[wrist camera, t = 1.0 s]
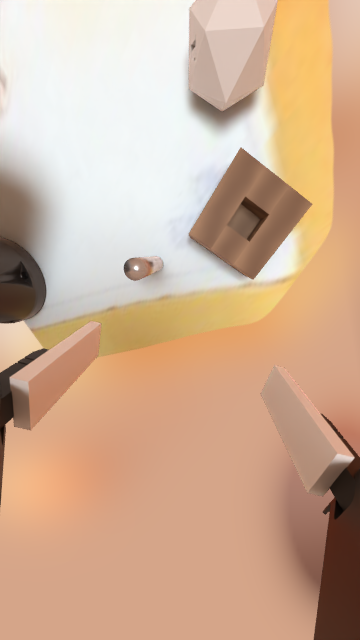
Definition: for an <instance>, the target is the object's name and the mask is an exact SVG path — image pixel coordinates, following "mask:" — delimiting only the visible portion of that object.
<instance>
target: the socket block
mask: <svg viewBox="0 0 360 640" xmlns="http://www.w3.org/2000/svg"><path fill="white" fill-rule="evenodd" d="M311 205H312V203H310V202H309V201H308V200H307V199H305V198H304V197H303V196H302V195H300V194H299V193H298V192H297V191H295V190H294V189H293V188H291V187H290V186H289V185H288V184H286V183H285V182H284V181H283V180H281V179H280V178H279V177H278V176H276V175H275V174H274V173H273V172H271V171H270V170H269V169H268V168H266V167H265V166H264V165H262V164H261V163H260V162H259V161H257V160H256V159H255V158H254V157H252V156H251V155H250V154H249V153H247V152H246V151H245V150H244V149H242V148H240V150H239V151H238V153H237V155H236V156H235V158H234V160H233V161H232V163H231V164H230V166H229V168H228V169H227V171H226V173H225V174H224V176H223V178H222V179H221V181H220V183H219V184H218V186H217V188H216V189H215V191H214V193H213V194H212V196H211V198H210V199H209V201H208V203H207V204H206V206H205V208H204V209H203V211H202V213H201V214H200V216H199V218H198V219H197V221H196V223H195V224H194V226H193V228H192V229H191V231H190V233H189V236H190V237H191V238H192V239H193V240H195V241H196V242H198V243H199V244H201V245H202V246H203V247H205V248H206V249H208V250H209V251H210V252H212V253H213V254H215V255H216V256H218V257H219V258H220V259H222V260H223V261H225V262H226V263H228V264H229V265H230V266H232V267H233V268H235V269H236V270H238V271H239V272H240V273H242V274H243V275H245V276H247V277H249V278H251V279H254V278H255V277H256V276H257V274H258V273H259V272H260V270H261V269H262V268H263V267H264V265H265V264H266V263H267V262H268V260H269V259H270V258H271V256H272V255H273V254H274V253H275V251H276V250H277V249H278V247H279V246H280V245H281V244H282V242H283V241H284V240H285V238H286V237H287V236H288V235H289V233H290V232H291V231H292V230H293V228H294V227H295V226H296V224H297V223H298V222H299V221H300V219H301V218H302V217H303V215H304V214H305V213H306V212H307V210H308V209H309V208H310V207H311Z"/></svg>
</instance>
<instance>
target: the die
mask: <svg viewBox="0 0 360 640" xmlns="http://www.w3.org/2000/svg"><path fill="white" fill-rule="evenodd" d="M277 2H278V1H277V0H196V1H195V2H194V3H193V4H192V6H191V7H190V11H189V89H190V90H191V91H193V92H194V93H195V94H197V95H198V96H200V97H201V98H203V99H204V100H206V101H207V102H208V103H210V104H211V105H213V106H214V107H216V108H217V109H219V110H220V111H221V112H222V111H224V110H226V109H227V108H229V107H230V106H232V105H233V104H235V103H237V102H238V101H240V100H241V99H243V98H244V97H246V96H247V95H249V94H251V93H252V92H254V91H255V90H257V89H258V88H260V87H262V86H263V84H264V78H265V72H266V67H267V61H268V55H269V49H270V43H271V37H272V31H273V25H274V19H275V13H276V7H277Z"/></svg>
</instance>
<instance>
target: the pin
mask: <svg viewBox="0 0 360 640" xmlns="http://www.w3.org/2000/svg"><path fill="white" fill-rule="evenodd" d="M162 267H163V261H162V259H161V258H160V257H158V256H152V257H140V258H131V259H129V260H127V261H126V263H125V265H124V272H125V275H126V276H127V277H128V278H129V279H131V280H134V281H136V280H140V279H142V278H144V277H146V276H148V275H151V274H153V273H155V272H157V271H159V270H161V269H162Z"/></svg>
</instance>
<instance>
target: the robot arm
mask: <svg viewBox="0 0 360 640" xmlns="http://www.w3.org/2000/svg"><path fill="white" fill-rule="evenodd" d="M45 293H46V289H45V282H44V278H43V275H42V273H41V271H40V269H39V267H38V265H37V264H36V262H35V261H34V259H33V258H32V257H31V256H30V255H29V254H28V253H27V252H26V251H25V250H24V249H23V248H22V247H20V246H19V245H17V244H16V243H14V242H12V241H10V240H7V239H4V238H0V323H15V322H20V321H22V320H25V319H28V318H30V317H32V316H34V315H35V314H36V313H38V312H39V310H40V309H41V307H42V306H43V303H44V300H45ZM100 332H101V323H98V322H94V321H90V322H89V323H87V324H86V325H84V326H83V327H82V328H80V329H79V330H77V331H76V332H74V333H73V334H71V335H70V336H69V337H67V338H66V339H64V340H63V341H61V342H60V343H58V344H57V345H56V346H54V347H53V348H51V349H50V350H48V349H41V350H38V351H35V352H33V353H31V354H29V355H28V356H26V357H25V358H23V359H21V360H20V361H18V363H15V364H13V365H12V366H10V367H9V368H7V369H6V370H4V371H2V372H1V373H0V505H1V489H2V475H3V461H4V447H5V432H6V427H5V424H6V423H7V422H8V421H10V420H11V419H12V418H13V420H14V427H18V428H23V429H27V430H31V429H32V428H33V427H34V426H35V425H36V424H37V423H38V422H39V421H40V419H41V418H42V417H43V416H44V415H45V414H46V413H47V412H48V411H49V410H50V408H51V407H52V406H53V405H54V404H55V403H56V402H57V401H58V399H59V398H60V397H61V396H62V395H63V394H64V393H65V392H66V391H67V390H68V388H69V387H70V386H71V385H72V384H73V383H74V382H75V381H76V380H77V378H78V377H79V376H80V375H81V374H82V373H83V372H84V371H85V370H86V368H87V367H88V366H89V365H90V364H91V363H92V362H93V361H94V360H95V358H96V357H97V356H98V353H99V343H100ZM261 396H262V398H263V400H264V402H265V405H266V406H267V409H268V411H269V413H270V415H271V417H272V419H273V421H274V423H275V426H276V428H277V430H278V432H279V434H280V436H281V438H282V440H283V443H284V445H285V447H286V449H287V451H288V453H289V455H290V457H291V459H292V462H293V464H294V466H295V468H296V470H297V472H298V474H299V476H300V478H301V481H302V483H303V485H304V487H305V489H306V491H307V493H309V494H314V495H318V496H324V495H325V493H326V492H327V491H328V490H329V489H331V491H332V493H333V495H334V496H335V497H334V499H333V500H332V501H331V502H330V503H329V505H328V506H327V507H326V508H325V509H324V511H323V513H324V514H327V512H330V514H329V523H328V530H327V538H326V546H325V555H324V562H323V570H322V578H321V586H320V594H319V602H318V610H317V618H316V626H315V634H314V640H360V457H359V456H358V455H357V453H356V452H355V451H354V450H353V448H352V447H351V446H350V445H349V444H348V442H347V441H346V440H345V439H343V436H342V435H341V434H340V432H338V430H337V429H336V427H335V426H334V425H333V424H332V423H331V421H329V420H328V419H327V418H326V417H325V416H324V415H323V414H321V413H319V411H318V410H317V409H316V407H315V406H314V405H313V404H312V402H311V401H310V400H309V398H308V397H307V396H306V395H305V393H304V392H303V391H302V390H301V388H300V387H299V386H298V384H297V383H296V382H295V381H294V379H293V378H292V377H291V375H290V374H289V373H288V372H287V370H286V369H285V368H284V367H280V366H276V365H274V367H273V369H272V371H271V373H270V375H269V377H268V379H267V382H266V383H265V385H264V388H263V390H262V392H261Z"/></svg>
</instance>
